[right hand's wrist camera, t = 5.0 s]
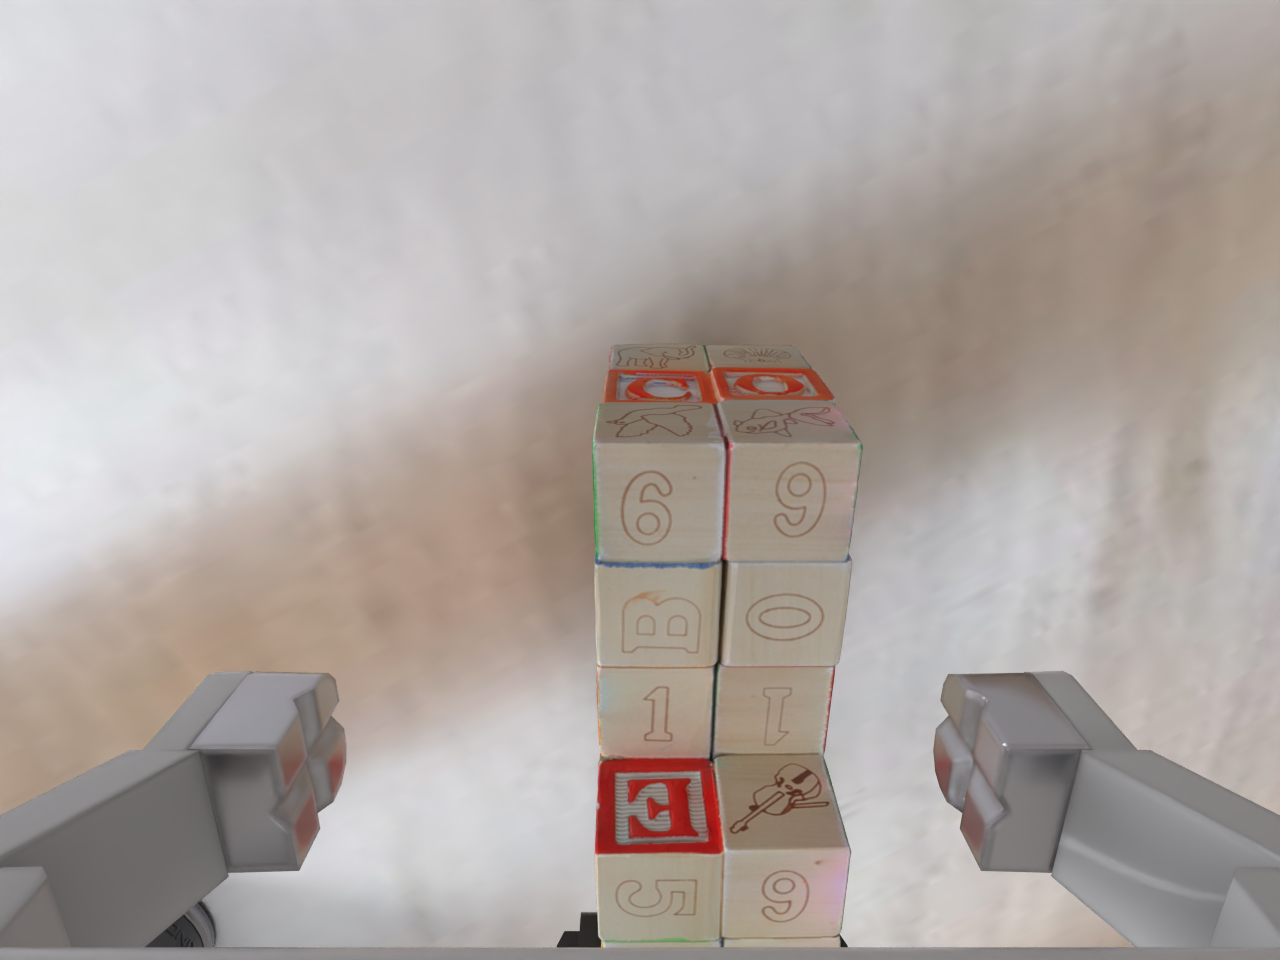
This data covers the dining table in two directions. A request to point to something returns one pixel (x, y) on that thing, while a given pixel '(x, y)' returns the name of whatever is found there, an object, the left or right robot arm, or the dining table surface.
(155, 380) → the dining table surface
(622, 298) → the dining table surface
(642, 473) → the stack of blocks
